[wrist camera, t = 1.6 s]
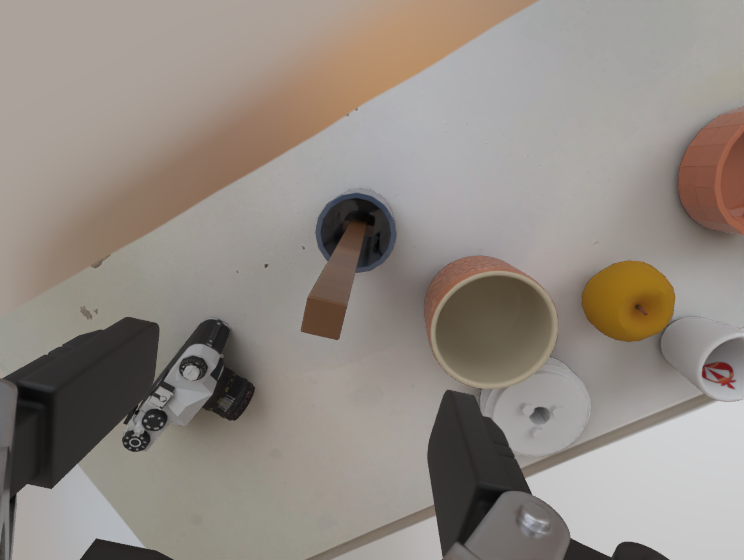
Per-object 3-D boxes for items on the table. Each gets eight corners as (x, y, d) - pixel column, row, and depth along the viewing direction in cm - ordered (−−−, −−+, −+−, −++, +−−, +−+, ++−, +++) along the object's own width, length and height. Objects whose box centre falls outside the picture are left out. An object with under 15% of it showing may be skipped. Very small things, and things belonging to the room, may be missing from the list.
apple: (601, 238, 48) (648, 253, 40) (655, 279, 49) (712, 302, 41) (552, 296, 50) (587, 322, 41) (605, 334, 51) (650, 367, 43)
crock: (336, 181, 47) (324, 184, 37) (399, 196, 47) (404, 204, 38) (323, 244, 49) (309, 262, 39) (384, 258, 49) (385, 280, 40)
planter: (529, 250, 49) (570, 273, 38) (514, 348, 52) (548, 394, 41) (423, 245, 49) (435, 266, 38) (415, 342, 52) (423, 387, 41)
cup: (734, 290, 49) (800, 312, 42) (745, 348, 51) (810, 379, 43) (643, 321, 51) (691, 349, 43) (657, 376, 52) (705, 412, 45)
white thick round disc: (598, 385, 53) (619, 406, 48) (534, 455, 56) (548, 482, 51) (520, 333, 51) (534, 350, 46) (458, 407, 54) (466, 431, 49)
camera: (212, 426, 57) (192, 487, 48) (138, 389, 53) (101, 446, 44) (276, 352, 54) (268, 401, 45) (202, 307, 50) (177, 350, 41)
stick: (348, 211, 47) (287, 291, 16) (375, 218, 47) (366, 309, 16) (345, 225, 48) (280, 328, 17) (372, 231, 48) (358, 345, 17)
